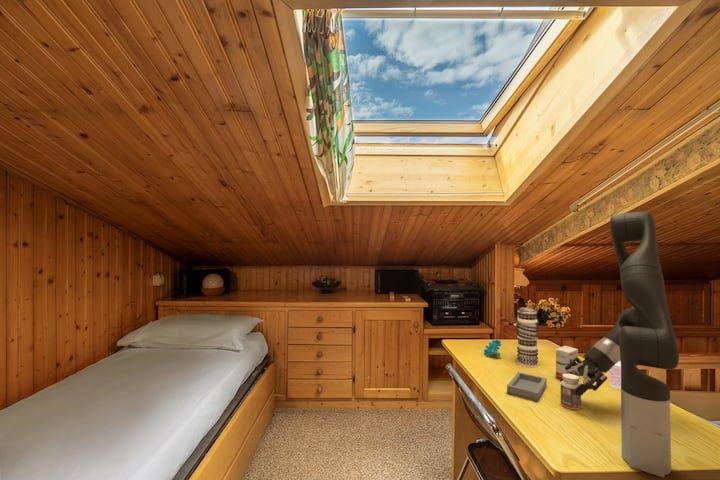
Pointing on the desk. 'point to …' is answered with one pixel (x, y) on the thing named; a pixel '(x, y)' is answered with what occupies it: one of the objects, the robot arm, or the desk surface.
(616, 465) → the desk surface
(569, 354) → the ink box
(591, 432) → the desk surface
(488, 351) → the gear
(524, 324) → the black white patterned cylinder
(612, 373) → the beverage cup
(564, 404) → the pill bottle
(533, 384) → the tray
